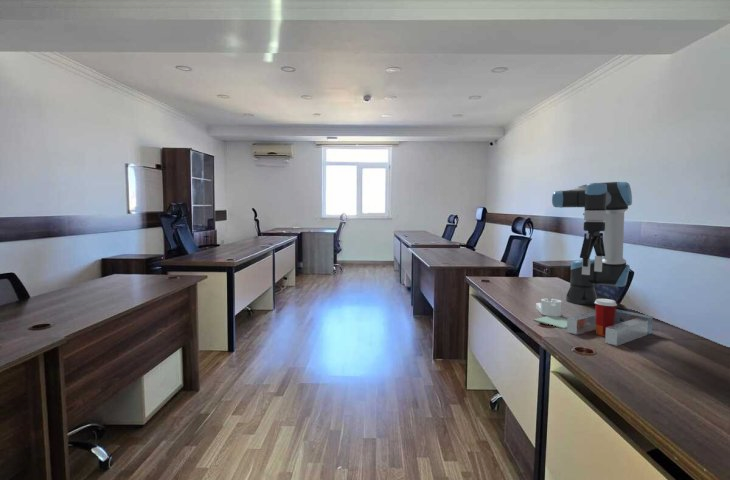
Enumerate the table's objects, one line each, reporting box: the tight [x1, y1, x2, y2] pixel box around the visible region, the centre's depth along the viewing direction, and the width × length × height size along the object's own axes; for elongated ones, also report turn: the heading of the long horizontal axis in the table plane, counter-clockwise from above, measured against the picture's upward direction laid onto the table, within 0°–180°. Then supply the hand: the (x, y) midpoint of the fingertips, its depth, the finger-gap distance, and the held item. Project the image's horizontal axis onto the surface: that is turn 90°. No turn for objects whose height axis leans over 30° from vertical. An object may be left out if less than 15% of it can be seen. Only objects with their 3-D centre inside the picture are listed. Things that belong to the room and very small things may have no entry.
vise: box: [566, 308, 654, 347], centre depth 159 cm, size 37×19×7 cm, turn 121°
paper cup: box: [594, 298, 618, 337], centre depth 155 cm, size 8×8×14 cm
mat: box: [533, 315, 567, 330], centre depth 172 cm, size 14×14×1 cm
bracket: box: [535, 298, 562, 317], centre depth 188 cm, size 20×9×7 cm, turn 165°
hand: (592, 273), depth 157 cm, fingers open, 13 cm apart
